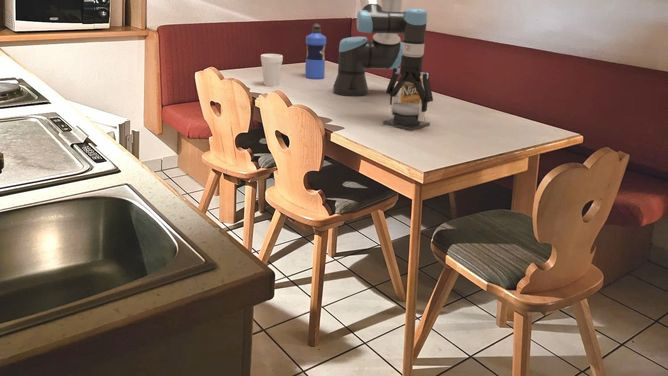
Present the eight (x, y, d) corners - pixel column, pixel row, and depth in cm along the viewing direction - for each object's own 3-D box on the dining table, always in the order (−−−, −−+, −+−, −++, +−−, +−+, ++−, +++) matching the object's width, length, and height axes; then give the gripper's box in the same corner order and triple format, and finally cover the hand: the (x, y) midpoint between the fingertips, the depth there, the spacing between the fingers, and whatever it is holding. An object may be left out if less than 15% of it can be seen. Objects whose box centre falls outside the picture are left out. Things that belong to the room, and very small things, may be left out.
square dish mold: (383, 124, 231) (383, 113, 230) (401, 118, 240) (402, 108, 238) (411, 131, 224) (412, 119, 223) (429, 125, 233) (430, 114, 231)
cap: (385, 117, 230) (386, 105, 229) (403, 112, 238) (403, 100, 237) (411, 123, 224) (412, 111, 222) (428, 118, 232) (429, 106, 230)
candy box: (398, 113, 247) (402, 73, 242) (405, 111, 250) (408, 72, 245) (418, 118, 242) (421, 77, 237) (424, 116, 245) (428, 76, 240)
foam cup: (270, 82, 293) (271, 53, 288) (286, 85, 288) (287, 55, 283) (256, 84, 285) (256, 55, 281) (272, 88, 280) (272, 58, 276)
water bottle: (303, 78, 304) (304, 24, 295) (307, 75, 313) (308, 22, 304) (322, 80, 303) (324, 25, 294) (326, 76, 311) (328, 23, 303)
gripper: (378, 51, 227) (374, 112, 235) (435, 60, 214) (429, 125, 221) (391, 50, 233) (386, 109, 241) (447, 58, 219) (440, 121, 227)
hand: (407, 117), depth 231 cm, fingers closed on cap, 11 cm apart
